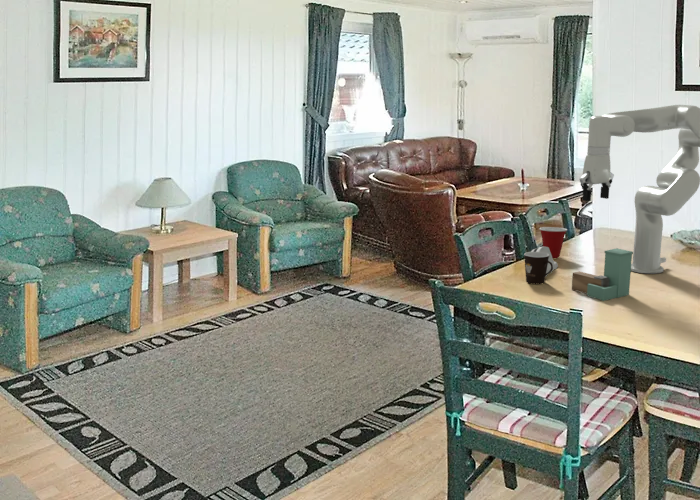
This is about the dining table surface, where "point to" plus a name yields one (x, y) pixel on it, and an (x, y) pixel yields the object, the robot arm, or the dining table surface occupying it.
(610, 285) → the headboard post
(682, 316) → the dining table surface
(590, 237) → the dining table surface
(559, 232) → the plastic cup
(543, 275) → the coffee mug
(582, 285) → the brown wooden block
